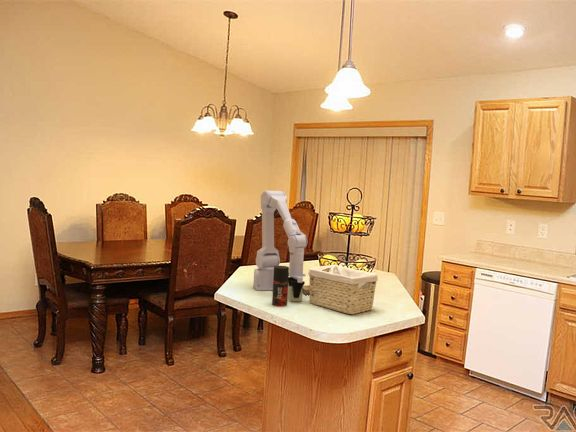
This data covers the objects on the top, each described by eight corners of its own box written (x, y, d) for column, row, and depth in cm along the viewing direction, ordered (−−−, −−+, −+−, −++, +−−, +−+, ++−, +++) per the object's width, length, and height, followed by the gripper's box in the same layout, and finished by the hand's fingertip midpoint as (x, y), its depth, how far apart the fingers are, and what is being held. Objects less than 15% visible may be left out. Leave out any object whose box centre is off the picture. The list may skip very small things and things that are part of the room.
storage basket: (304, 302, 198) (306, 266, 197) (331, 297, 209) (333, 263, 208) (350, 317, 181) (353, 278, 179) (377, 310, 192) (379, 273, 191)
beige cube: (290, 301, 199) (290, 289, 199) (287, 298, 204) (287, 286, 203) (301, 301, 200) (302, 289, 200) (298, 297, 205) (299, 286, 205)
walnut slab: (304, 296, 209) (304, 289, 209) (299, 292, 217) (300, 285, 217) (322, 296, 211) (322, 289, 211) (316, 291, 219) (317, 285, 219)
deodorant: (274, 306, 189) (276, 268, 188) (270, 302, 195) (272, 265, 194) (288, 306, 191) (290, 268, 190) (284, 302, 197) (286, 265, 195)
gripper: (310, 267, 195) (308, 300, 196) (301, 260, 209) (299, 291, 210) (293, 266, 193) (291, 300, 194) (285, 260, 207) (283, 291, 208)
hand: (294, 296), depth 202 cm, fingers closed on beige cube, 5 cm apart
